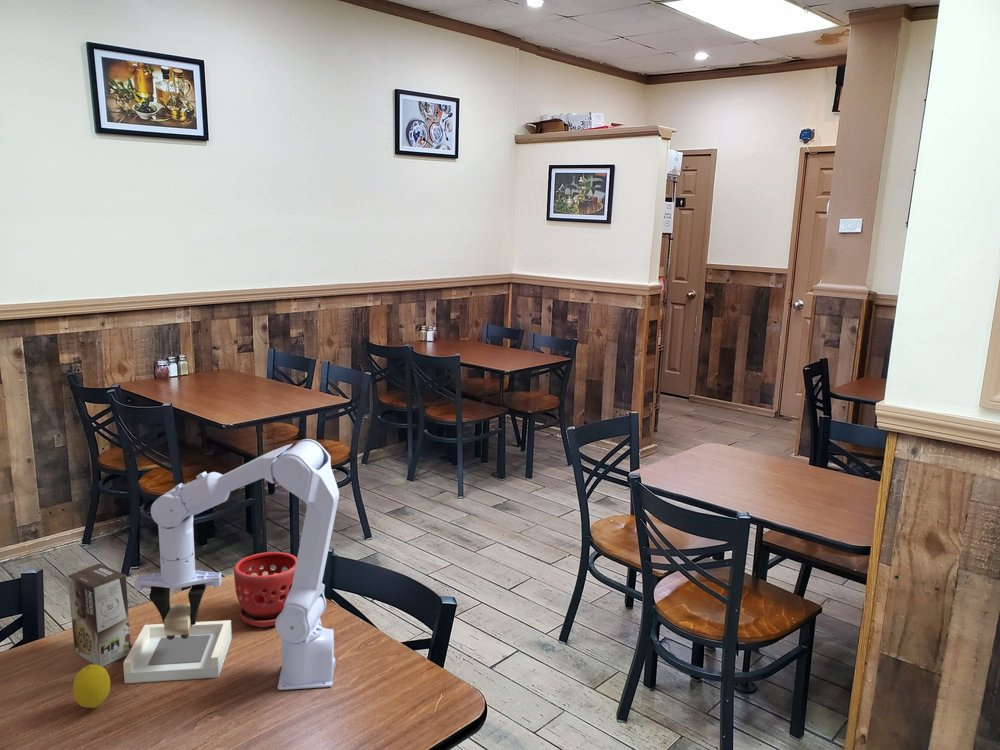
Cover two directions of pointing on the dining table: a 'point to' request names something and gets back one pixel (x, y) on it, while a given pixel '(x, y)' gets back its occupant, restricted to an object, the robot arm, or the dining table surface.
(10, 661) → the dining table surface
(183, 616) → the cream rectangular block
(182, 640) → the dock
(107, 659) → the coffee box
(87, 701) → the lemon
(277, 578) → the plant pot
